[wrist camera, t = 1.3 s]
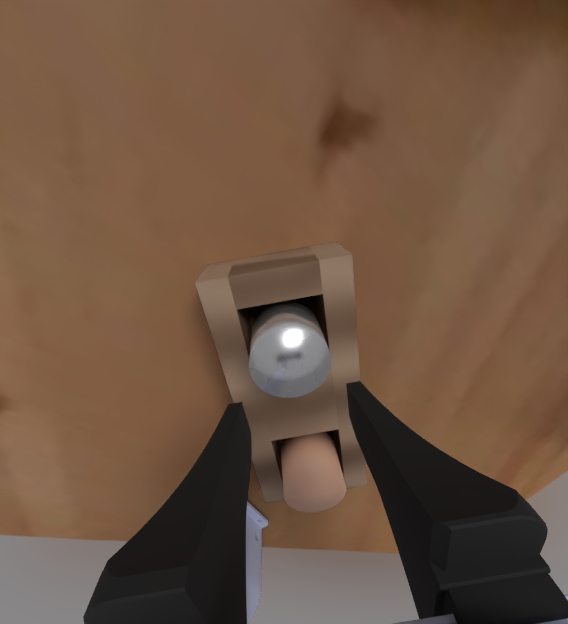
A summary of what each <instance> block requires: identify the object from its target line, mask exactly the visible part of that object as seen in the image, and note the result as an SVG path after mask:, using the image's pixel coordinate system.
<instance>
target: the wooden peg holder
mask: <svg viewBox="0 0 568 624" xmlns="http://www.w3.org/2000/svg"><path fill="white" fill-rule="evenodd" d="M195 284H196V287H197V290H198V294H199V297H200V300H201V303H202V306H203V309H204V312H205V315H206V318H207V322H208V325H209V328H210V331H211V334H212V337H213V340H214V343H215V347H216V350H217V353H218V356H219V359H220V362H221V365H222V368H223V371H224V375H225V378H226V381H227V384H228V387H229V390H230V393H231V396H232V400H233V403H239V402H242V404H243V407H244V411H245V414H246V417H247V420H248V424H249V427H250V430H251V439H252V458H251V459H252V462H253V465H254V468H255V471H256V474H257V477H258V481H259V484H260V487H261V490H262V493H263V496H264V499H265V502H266V503H268V502H273V501H279V500H284V493H283V477H282V461H281V447H282V446H280V443H279V440H280V439H286V438H292V437H297V436H303V435H309V434H315V433H320V432H326V431H332V430H333V434H334V437H332V439H333V441H334V444H335V448H336V451H337V455H338V459H339V462H340V466H341V470H342V474H343V477H344V481H345V485H346V489H349V488H354V487H360V486H366V485H367V479H366V464H365V458H364V455H363V453H362V451H361V448H360V446H359V444H358V441H357V439H356V436H355V433H354V430H353V427H352V424H351V420H350V417H349V408H348V397H347V387H346V383H352V382H357V381H360V370H359V355H358V339H357V324H356V308H355V293H354V277H353V261H352V254H351V253H350V252H349V251H347V250H346V249H345V248H344V247H342V246H341V245H340V244H339V243H337V242H332V243H327V244H321V245H316V246H311V247H305V248H300V249H294V250H289V251H283V252H278V253H272V254H267V255H261V256H256V257H250V258H245V259H239V260H234V261H229V262H223V263H218V264H212V265H207V267H206V268H205V269H204V271H203V272H202V274H201V275H200V277H199V278H198V279H197V281H196V282H195ZM315 295H316V302H317V310H318V318H319V325H320V328H321V331H322V333H323V336H324V338H325V341H326V343H327V346H328V348H329V351H330V354H331V369H330V372H329V374H328V376H327V378H326V380H325V381H324V382H323V383H322V384H321V385H320V386H319V387H318V388H317V389H315V390H314V391H312V392H310V393H308V394H306V395H303V396H299V397H293V398H283V397H277V396H273V395H271V394H268V393H266V392H265V391H263V390H262V389H260V388H259V387H258V386H257V385H256V384H255V382H254V381H253V379H252V377H251V375H250V371H249V356H250V344H251V333H252V330H251V326H250V322H249V318H248V314H247V310H246V308H248V307H254V306H259V305H265V304H270V303H276V302H281V301H287V300H292V299H298V298H304V297H309V296H315Z"/></svg>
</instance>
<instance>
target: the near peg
mask: <svg viewBox="0 0 568 624" xmlns="http://www.w3.org/2000/svg"><path fill="white" fill-rule="evenodd" d="M330 369H331V354H330V351H329V348H328V346H327V343H326V341H325V338H324V336H323V333H322V331H321V328H320V326H319V323H318V320H317V318H316V316H315V315H314V314H313V312H312V311H311V310H310V309H308V308H307V307H305V306H304V305H301V304H299V303H295V302H278V303H275V304H272V305H270V306H268V307H266V308H265V309H263V310H262V311H261V312H260V313H259V314H258V316H257V317H256V319H255V320H254V323H253V326H252V333H251V344H250V356H249V371H250V375H251V377H252V379H253V381H254V382H255V384H256V385H257V386H258V387H259V388H260V389H262V390H263V391H265V392H266V393H268V394H271V395H273V396H277V397H283V398H293V397H299V396H303V395H306V394H308V393H310V392H312V391H314V390H315V389H317V388H318V387H319V386H320V385H321V384H322V383H323V382H324V381H325V380H326V378H327V376H328V374H329V372H330Z"/></svg>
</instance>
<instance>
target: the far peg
mask: <svg viewBox="0 0 568 624" xmlns="http://www.w3.org/2000/svg"><path fill="white" fill-rule="evenodd" d="M281 461H282V477H283V493H284V500H285V502H286V503H287V505H288V506H290V507H291V508H293V509H295V510H297V511H300V512H307V513H314V512H321V511H325V510H328V509H330V508H332V507H334V506H336V505H337V504H338V503H340V502H341V501H342V499H343V498H344V496H345V494H346V485H345V481H344V477H343V474H342V470H341V466H340V462H339V459H338V455H337V451H336V448H335V444H334V441H333V439H332V438H331V436H330V435H328V434H327V433H325V432H320V433H315V434H309V435H303V436H297V437H292V438H287V439H286V440H285V441H284V442H283V444H282V447H281Z"/></svg>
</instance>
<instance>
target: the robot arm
mask: <svg viewBox="0 0 568 624" xmlns="http://www.w3.org/2000/svg"><path fill="white" fill-rule="evenodd" d="M346 387H347V397H348V408H349V417H350V420H351V424H352V427H353V430H354V433H355V436H356V439H357V441H358V444H359V446H360V448H361V451H362V453H363V455H364V458H365V460H366V462H367V464H368V467H369V469H370V471H371V474H372V476H373V478H374V481H375V483H376V485H377V488H378V490H379V493H380V496H381V499H382V502H383V505H384V508H385V511H386V514H387V517H388V520H389V523H390V526H391V529H392V532H393V535H394V538H395V541H396V544H397V547H398V550H399V554H400V557H401V560H402V563H403V566H404V570H405V573H406V576H407V579H408V582H409V586H410V589H411V592H412V595H413V599H414V602H415V606H416V609H417V612H418V616H419V619H418V620H413V621H407V622H400V623H395V624H568V595H563V593H562V592H561V590H560V589H559V588H558V586H557V585H556V584H555V582H554V581H553V579H552V578H551V577H550V575H549V574H548V573H550V568H549V566H548V565H547V564H546V562H545V561H544V559H543V558H542V557H541V555H540V552H541V550H542V547H543V545H544V543H545V540H546V537H547V530H548V529H547V526H546V524H545V522H544V521H543V520H542V519H541V517H540V516H539V515H538V514H537V513H536V511H535V510H534V509H533V508H532V507H531V506H530V504H529V503H528V502H527V501H526V500H525V499H524V498H523V497H522V496H521V495H520V494H519V493H518V492H517V491H516V490H514V489H512V488H510V487H508V486H506V485H504V484H502V483H500V482H498V481H495V480H493V479H491V478H489V477H487V476H485V475H483V474H481V473H479V472H477V471H475V470H473V469H472V468H470V467H468V466H466V465H464V464H462V463H461V462H459V461H457V460H456V459H454V458H452V457H451V456H449V455H447V454H446V453H444V452H442V451H441V450H439V449H438V448H436V447H435V446H433V445H432V444H430V443H429V442H427V441H426V440H425V439H423V438H422V437H420V436H419V435H418V434H416V433H415V432H414V431H412V430H411V429H410V428H409V427H407V426H406V425H405V424H404V423H403V422H401V421H400V420H399V419H398V418H397V417H395V416H394V415H393V414H392V413H391V412H390V411H389V410H388V409H387V408H386V407H384V406H383V405H382V404H381V403H380V402H379V401H378V400H377V399H376V398H375V397H374V396H373V395H372V394H371V393H370V392H369V390H368V389H367V388H366V387H365V386H364V385H363V384H362V383H361V382H360V381H357V382H352V383H346ZM251 458H252V439H251V430H250V427H249V424H248V420H247V417H246V414H245V411H244V407H243V404H242V402H239V403H233V404H229V405H228V406H227V408H226V410H225V412H224V414H223V416H222V418H221V420H220V422H219V424H218V426H217V428H216V430H215V432H214V433H213V435H212V437H211V439H210V440H209V442H208V444H207V446H206V447H205V449H204V450H203V452H202V454H201V455H200V457H199V458H198V460H197V461H196V463H195V464H194V466H193V467H192V469H191V470H190V472H189V473H188V474H187V476H186V477H185V479H184V480H183V481H182V483H181V484H180V485H179V486H178V488H177V489H176V490H175V491H174V493H173V494H172V495H171V496H170V498H169V499H168V500H167V501H166V502H165V504H164V505H163V506H162V507H161V508H160V509H159V510H158V511H157V513H156V514H155V515H154V516H153V517H152V518H151V519H150V520H149V521H148V522H147V523H146V524H145V525H144V526H143V527H142V529H141V530H140V531H139V532H138V533H137V534H136V535H135V536H133V537H132V538H131V539H130V540H129V541H128V542H127V543H126V544H125V545H124V546H123V547H122V548H121V549H120V550H119V551H118V552H117V553H115V554H114V555H113V556H112V557H111V558H110V559H109V560H108V561H107V563H106V566H105V568H104V570H103V572H102V574H101V576H100V578H99V581H98V583H97V585H96V588H95V591H94V593H93V596H92V597H91V600H90V602H89V605H88V607H87V610H86V612H85V615H84V617H83V618H84V624H249V622H250V621H251V620H252V618H253V616H254V614H255V612H256V609H257V606H258V603H259V599H260V595H261V570H262V565H261V562H262V556H261V555H262V528H264V527H266V526H267V525H268V520H267V519H266V518H265V517H264V516H263V515H262V514H261V513H260V512H258V511H257V510H256V509H255V508H254V507H253V506H252V505H251V504H250V503H249V502H248V501H247V500H248V490H249V479H250V469H251Z"/></svg>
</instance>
